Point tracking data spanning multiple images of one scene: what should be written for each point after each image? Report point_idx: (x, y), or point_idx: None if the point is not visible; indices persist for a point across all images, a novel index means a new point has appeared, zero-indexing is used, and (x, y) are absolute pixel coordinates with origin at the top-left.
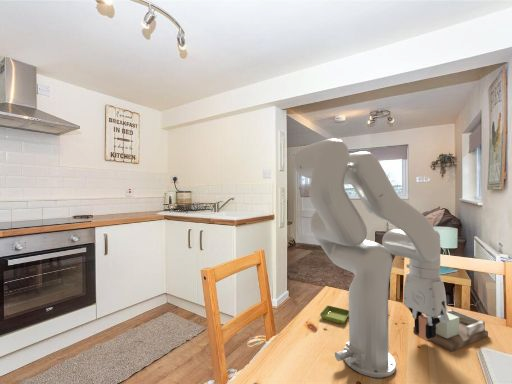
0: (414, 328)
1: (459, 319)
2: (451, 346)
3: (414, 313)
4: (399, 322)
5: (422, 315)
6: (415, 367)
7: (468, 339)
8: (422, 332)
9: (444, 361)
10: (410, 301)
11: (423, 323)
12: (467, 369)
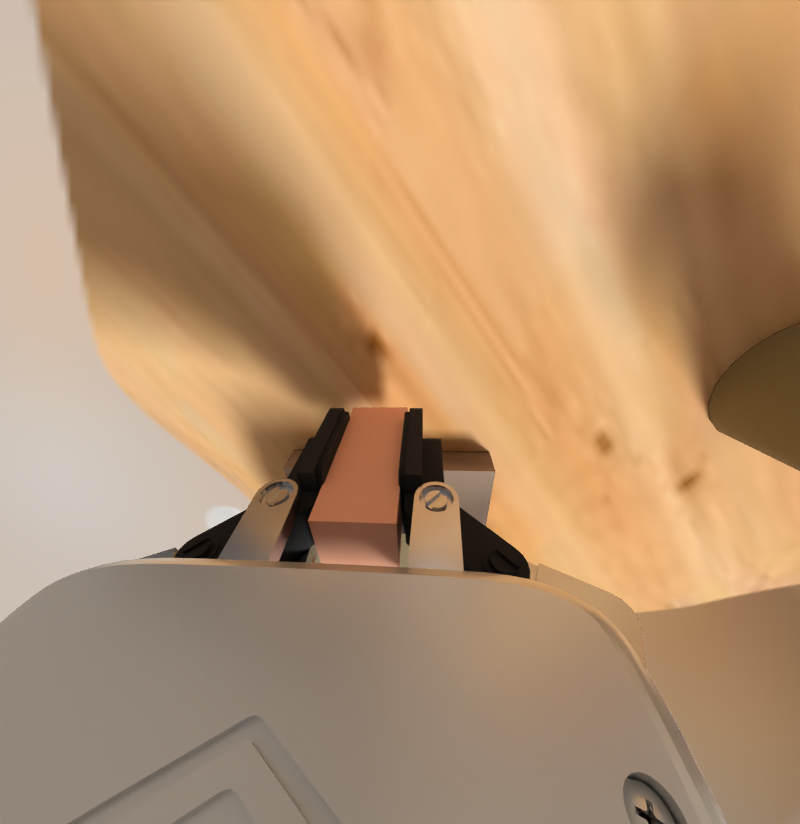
0: (487, 466)
1: None
2: (286, 465)
3: (435, 526)
4: (593, 469)
5: (386, 551)
6: (177, 61)
7: (314, 554)
8: (376, 428)
9: (230, 346)
10: (468, 740)
11: (354, 479)
12: (166, 385)
